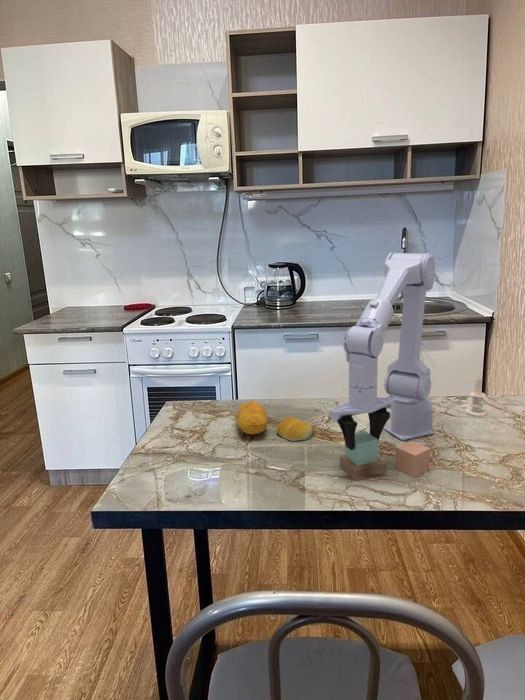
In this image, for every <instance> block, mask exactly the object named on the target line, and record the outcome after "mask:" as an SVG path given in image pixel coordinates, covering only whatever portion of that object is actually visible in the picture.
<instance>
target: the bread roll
mask: <svg viewBox="0 0 525 700" xmlns="http://www.w3.org/2000/svg"><path fill="white" fill-rule="evenodd" d="M313 431H314V430H313V427H312V425H311V424H310V423H309V422H308V421H307V422H306V421H302V420H301V419H299V418H297V417H287V418H284V419H283V420H281V421H280V422H279V424H278V425H277V427H276V432H277V434H278V435H279V436H280V437H281V438H284V439H285V440H288V441H289V440H290V441H291V442H300V440H302V441H305V440H308V439H310V438H311V436H312V435H313ZM298 440H299V441H298Z"/></svg>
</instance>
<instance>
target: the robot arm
mask: <svg viewBox="0 0 525 700" xmlns="http://www.w3.org/2000/svg"><path fill="white" fill-rule="evenodd" d="M384 261H385V262H384V268H383V269H384V279H383V282H382V284H381V286H380V289H379V292H378V294H377V296H376V298H373V299H370V300H369V301H368V302H367V305H366V307H365V308H364V310H363V311H362V314H361V315H360V317H359V319H358V321H357V323H356V324H355V325H352V326H351V327H350V328H348V329H347V330H346V331H345V333H344V334H345V335H344V337H343V341H342V346H343V351H344V352H345V360H346V362H347V363H348V401H347V402H345V403H343V404H341V405H338V406H336V407H332V408H329V418H330V419H331V420H333V421H334V422H335V421H336V422H337V424H338V426H339V427H340V428H339V429H340V430H341V432H342V435H343V439H344V445H345V444H346V447H347V448H349V449H350V450H354V445H355V433H356V432H357V431H356V430H357V428H358V422H357V421H355V419H354V417H353V416H358V415H362V414H367V415H368V420H369V434H371V435H372V436H374V437H375V438H377V439H378V443H379V442H380V439H381V435H382V432H383V430H385V431H386V432H387V433H389V434H391V435H392V436H393V437H394V436H395V437H396V438H397V439H398V440H401V441H406V440H411V439H415V438H420V437H425V436H428V435H433V434H435V433H434V432H435V431H434V430H433V429H432V428H433V411H434V410H433V404H432V401H431V399H430V398H429V395H430V393H431V390H432V381H431V369H430V368H429V367H428V366H427V365H426V364H425V363H424V362H423V361H422V360H421V359H420V357H421V347H422V336H423V324H424V314H425V305H426V303H425V302H426V296H427V295H426V294H427V292H428V291H430V290H432V289H433V287H434V281H435V271H436V262H435V259H434V256H433V255H432V254H431V253H429V252H426V253H409V252H407V253H405V252H402V253H401V252H400V253H398V252H393V251H392V252H390V253H389V254H388V255H387V256H386V258H385V260H384ZM401 293H403V294H402V295H403V303H402V311H401V312H402V313H401V321H400V322H401V325H400V337H399V345H398V346H399V347H398V357H397V359H395V360H394V361H392V362H391V363H390V364H388V366H387V371H386V375H385V377H384V382H383V383H384V384H383V386H384V391H385V393H386V394H387V395H389V396H388V397H379V398H378V367H379V366H378V363H379V362H378V360H379V358H378V357H379V356H380V354H381V353H382V351H383V347H384V340H385V338H386V330H387V328H388V326H389V325H390V322H391V320H392V318H393V316H394V312H395V310H394V307H393V305H395V302H396V301H397V299H398V297H399V296H400V295H401ZM387 409H390V410H391V412H390V411H388V410H387ZM389 420H390V425H386V424H387V422H388V421H389ZM385 425H386V426H385Z"/></svg>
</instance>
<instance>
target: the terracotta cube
mask: <svg viewBox="0 0 525 700" xmlns="http://www.w3.org/2000/svg"><path fill="white" fill-rule="evenodd" d="M430 462H431V448H430V447H429V446H425V445H423V444H420V443H418V442H415V441H412V440H410V441H407V442H405V443H403V444H400V445H398V446H396V447H395V463H394V464H395V469H396V470H398V471H400V472H403V473H404V474H406V475H408V476H411V477H413V478H415V477H418V476H419V475H421V474H424V473H426V472H427V471H429V470H430V465H431V463H430Z"/></svg>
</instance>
